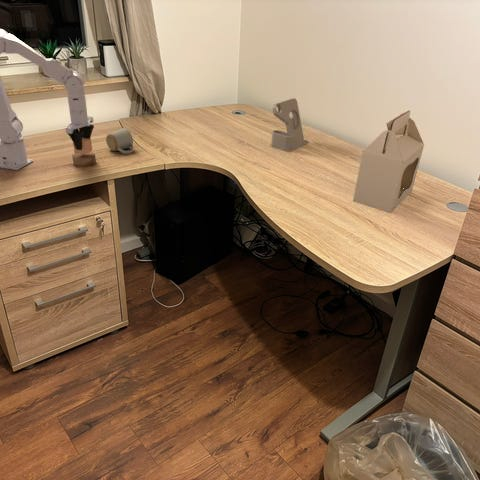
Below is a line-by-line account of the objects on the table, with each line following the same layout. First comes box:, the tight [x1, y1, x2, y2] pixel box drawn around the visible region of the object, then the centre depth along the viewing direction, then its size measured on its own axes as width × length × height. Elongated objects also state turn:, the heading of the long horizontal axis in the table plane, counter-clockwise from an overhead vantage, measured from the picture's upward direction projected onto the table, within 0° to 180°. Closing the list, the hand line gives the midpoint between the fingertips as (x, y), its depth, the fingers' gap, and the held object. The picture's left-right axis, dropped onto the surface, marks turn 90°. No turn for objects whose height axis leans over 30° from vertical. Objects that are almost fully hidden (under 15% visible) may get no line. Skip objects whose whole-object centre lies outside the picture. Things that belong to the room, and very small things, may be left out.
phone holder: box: [270, 97, 310, 153], centre depth 197 cm, size 17×10×18 cm, turn 142°
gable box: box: [352, 110, 425, 213], centre depth 154 cm, size 22×13×28 cm, turn 145°
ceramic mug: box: [105, 127, 134, 155], centre depth 183 cm, size 11×8×8 cm
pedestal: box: [72, 151, 97, 168], centre depth 172 cm, size 8×8×3 cm
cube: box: [72, 137, 93, 155], centre depth 169 cm, size 4×4×4 cm
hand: (82, 147), depth 170 cm, fingers closed on cube, 4 cm apart
